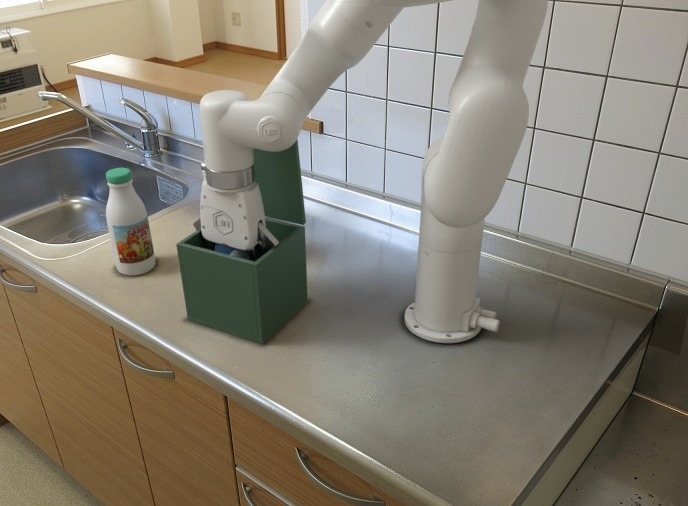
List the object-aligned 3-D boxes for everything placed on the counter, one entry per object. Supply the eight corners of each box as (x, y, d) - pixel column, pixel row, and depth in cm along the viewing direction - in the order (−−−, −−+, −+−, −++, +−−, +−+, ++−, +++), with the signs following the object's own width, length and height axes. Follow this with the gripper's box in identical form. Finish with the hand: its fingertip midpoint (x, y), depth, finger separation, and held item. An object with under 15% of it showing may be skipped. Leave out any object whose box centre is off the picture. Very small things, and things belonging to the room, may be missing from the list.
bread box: (262, 344, 109) (256, 264, 101) (187, 320, 116) (175, 243, 108) (307, 301, 119) (305, 226, 111) (236, 281, 126) (228, 209, 118)
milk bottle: (109, 273, 131) (88, 177, 120) (129, 255, 137) (110, 162, 127) (144, 278, 129) (125, 180, 118) (162, 259, 135) (147, 165, 124)
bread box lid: (294, 138, 101) (297, 135, 102) (212, 125, 109) (215, 123, 109) (303, 225, 111) (306, 222, 111) (227, 208, 118) (229, 206, 118)
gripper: (170, 173, 104) (183, 272, 114) (264, 194, 96) (269, 298, 106) (200, 157, 110) (209, 253, 119) (291, 176, 102) (293, 277, 111)
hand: (237, 274), depth 112 cm, fingers closed on soda can, 7 cm apart
